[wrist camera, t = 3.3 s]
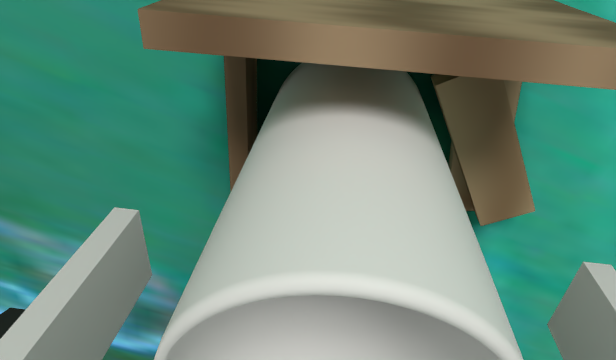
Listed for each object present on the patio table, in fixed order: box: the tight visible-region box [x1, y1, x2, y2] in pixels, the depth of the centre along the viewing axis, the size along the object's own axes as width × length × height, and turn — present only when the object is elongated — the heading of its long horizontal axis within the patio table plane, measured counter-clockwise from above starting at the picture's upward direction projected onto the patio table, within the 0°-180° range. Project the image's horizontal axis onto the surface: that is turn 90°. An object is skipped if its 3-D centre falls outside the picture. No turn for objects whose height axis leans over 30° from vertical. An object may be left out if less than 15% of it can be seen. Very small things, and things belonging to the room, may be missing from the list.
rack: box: [138, 0, 616, 191], centre depth 18 cm, size 14×14×10 cm
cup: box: [154, 62, 523, 360], centre depth 16 cm, size 8×8×16 cm
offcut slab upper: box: [430, 74, 535, 226], centre depth 21 cm, size 3×9×2 cm, turn 25°
